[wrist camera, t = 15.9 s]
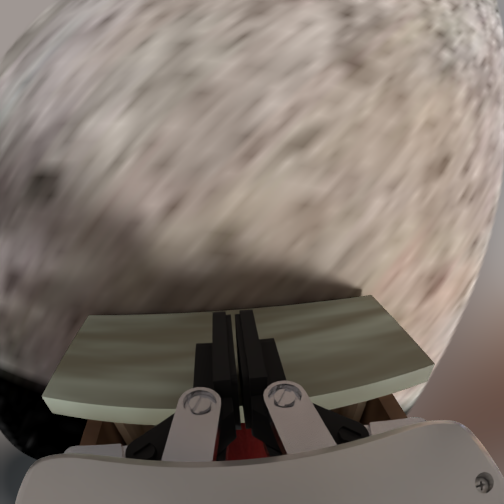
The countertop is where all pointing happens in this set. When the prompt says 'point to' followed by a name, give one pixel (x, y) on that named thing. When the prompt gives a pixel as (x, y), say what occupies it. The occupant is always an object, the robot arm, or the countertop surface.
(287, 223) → the countertop surface
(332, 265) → the countertop surface
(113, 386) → the drawer
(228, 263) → the countertop surface
